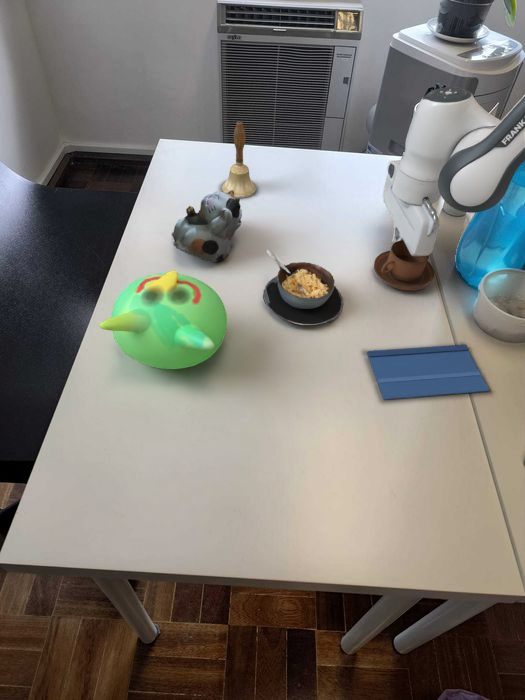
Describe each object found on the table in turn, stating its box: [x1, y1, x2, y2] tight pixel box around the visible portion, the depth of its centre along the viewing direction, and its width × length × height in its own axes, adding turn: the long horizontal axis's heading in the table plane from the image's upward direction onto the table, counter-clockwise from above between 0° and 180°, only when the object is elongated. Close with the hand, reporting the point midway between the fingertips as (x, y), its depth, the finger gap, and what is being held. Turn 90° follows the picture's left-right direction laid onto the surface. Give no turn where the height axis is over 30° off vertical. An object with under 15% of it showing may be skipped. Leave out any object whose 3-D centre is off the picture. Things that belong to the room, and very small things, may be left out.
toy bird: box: [99, 270, 228, 370], centre depth 74 cm, size 18×17×15 cm
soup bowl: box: [262, 249, 344, 326], centre depth 86 cm, size 15×16×7 cm
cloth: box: [366, 344, 491, 401], centre depth 79 cm, size 18×10×1 cm, turn 97°
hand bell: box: [221, 120, 257, 199], centre depth 108 cm, size 8×8×16 cm
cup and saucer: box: [373, 240, 435, 291], centre depth 93 cm, size 12×12×6 cm
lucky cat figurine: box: [170, 190, 243, 263], centre depth 94 cm, size 15×12×14 cm
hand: (397, 245), depth 97 cm, fingers closed
